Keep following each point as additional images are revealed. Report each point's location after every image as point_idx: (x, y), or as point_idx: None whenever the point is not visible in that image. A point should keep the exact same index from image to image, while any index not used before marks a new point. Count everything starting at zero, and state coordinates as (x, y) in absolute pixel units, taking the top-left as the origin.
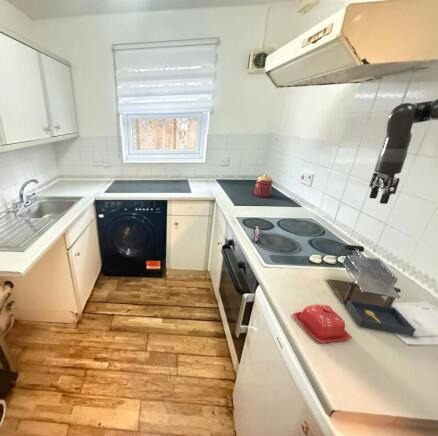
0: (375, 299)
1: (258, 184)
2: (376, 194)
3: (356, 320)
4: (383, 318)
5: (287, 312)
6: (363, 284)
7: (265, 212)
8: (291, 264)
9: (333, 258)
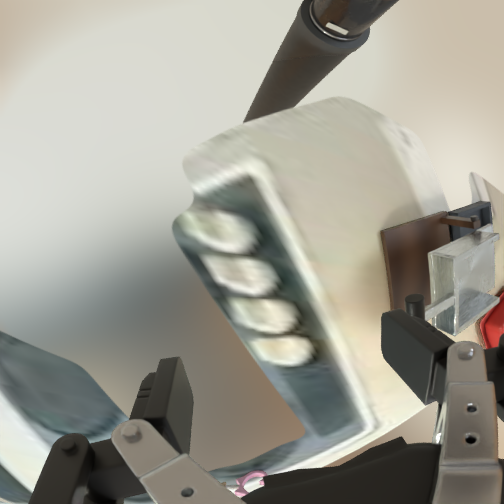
0: (432, 235)
1: None
2: (176, 387)
3: None
4: (468, 233)
5: None
6: (484, 285)
7: (21, 452)
8: (347, 393)
9: (253, 304)
